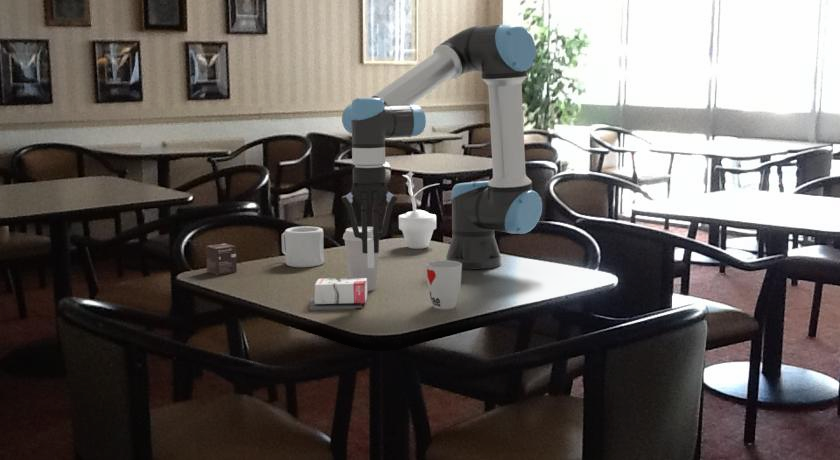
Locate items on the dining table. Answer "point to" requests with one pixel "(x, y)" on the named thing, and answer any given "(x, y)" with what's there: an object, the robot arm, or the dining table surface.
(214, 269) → the box
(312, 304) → the mat
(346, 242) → the coffee cup
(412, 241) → the potted plant
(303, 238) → the mug
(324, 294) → the ink box
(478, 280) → the dining table surface
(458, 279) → the cup
